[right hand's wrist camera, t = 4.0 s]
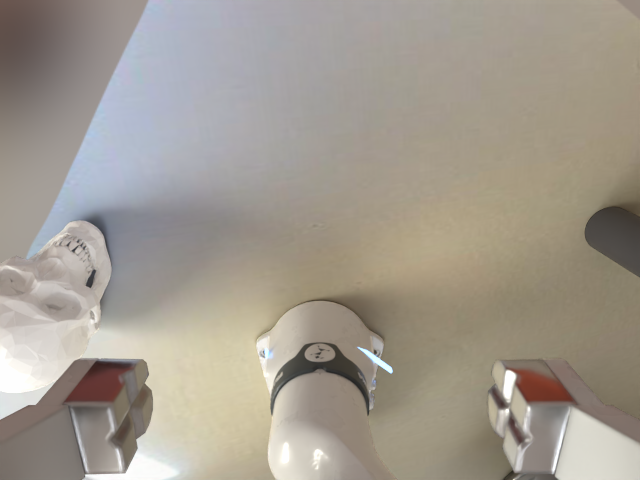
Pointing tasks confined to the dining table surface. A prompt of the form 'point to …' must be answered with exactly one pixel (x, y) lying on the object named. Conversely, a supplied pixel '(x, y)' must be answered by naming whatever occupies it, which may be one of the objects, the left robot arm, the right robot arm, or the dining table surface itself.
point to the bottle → (616, 236)
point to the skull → (50, 307)
